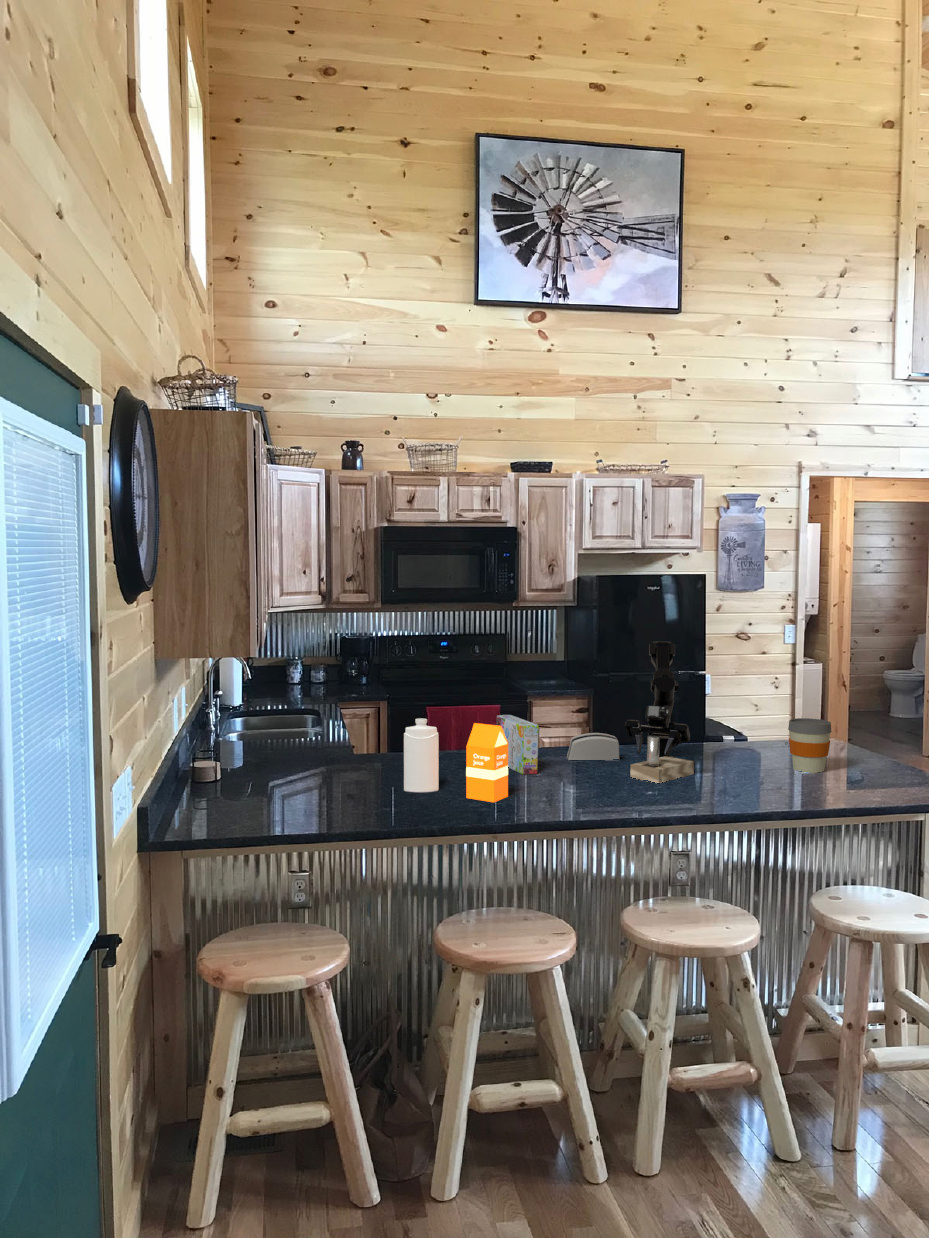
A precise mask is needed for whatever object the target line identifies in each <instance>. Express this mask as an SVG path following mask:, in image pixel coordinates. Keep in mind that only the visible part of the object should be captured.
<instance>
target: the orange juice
mask: <svg viewBox="0 0 929 1238" xmlns="http://www.w3.org/2000/svg"><path fill="white" fill-rule="evenodd" d="M465 748H466V752H465V753H466V755H465V756H466V761H465V762H466V765H465V766H466V768H465V777H466V778H465V779H466V786H465V787H466V788H465V789H466V791H465V792H466V793H465V794H466V799H472V800H477V801H483V802H488V803H489V802H490V803H497V802H499V801H500V800H503V799H505V798H508V797H509V768H508V742H507V740H506V737H505V734H504V732H503V729H502V727H501V726H497V725H496V724H488V723H487V724H486V723H479V722H473V725H472V730H471V732H470V734H469V737H468V740H467V744H466V747H465Z"/></svg>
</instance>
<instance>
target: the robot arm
mask: <svg viewBox="0 0 929 1238" xmlns="http://www.w3.org/2000/svg"><path fill="white" fill-rule="evenodd" d="M648 644H649V645H648V646H649V647H648V656H650V662H651V664H652V665H653V667H654V668H655V671H654V672H653V678H652V679H651V680H650V691H651V692H652V694H653V695H654V701H653V705H647V706H646V710H645V718H646V723H647V724H648V725H646V724H645V725H643V724H641V722H640V720H639V719H638V720H636V719H627V720H626V721H625V723H624V729H625V732H626V735H627V737H629V738H632V739H633V740H635V743H636V751H637V754H639V755H640V753H641V751H642V746H643V742H644V737H643V733H647V734H648V735H647V736H659V758H660V757H664V756H668V757H674V758H676V757H675V756H673V755H672V754H671V753H672V751H673V749H674V748H676V747H677V746H678V745H682V744H683V743H689V742H690V741H691V732H690V728H689V725H688V724H686V723H676V722H675V721H674V716H673V707H674V704H675V699H674V698H675V697H674V696H675V693H676V692H678V690H679V687H680V686H679V683H678V682H677V680H675V675H674V674H675V673H673V672H672V670H671V667H670V666H671V665H672V664H673V659H674V656H676V643H672V641H659V640H658V641H652V642H651V643H648Z"/></svg>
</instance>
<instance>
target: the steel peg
mask: <svg viewBox="0 0 929 1238" xmlns="http://www.w3.org/2000/svg"><path fill="white" fill-rule="evenodd" d="M646 739H647V740H646V761H647V767H653V768H656V767H659V736H652V735H650V736H648V735H647V737H646Z"/></svg>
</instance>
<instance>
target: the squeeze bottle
mask: <svg viewBox="0 0 929 1238" xmlns="http://www.w3.org/2000/svg"><path fill="white" fill-rule="evenodd" d="M414 723H415V725H412V726H406V727H405V728H404V729H405V732H404V733H403V791H404V792H409V793H432V792H433V793H434V792H438V791H439V789H440V787H439V781H440V780H439V775H440V774H439V769H440V768H439V757H440V755H439V752H440V751H439V750H440V749H439V741H440V740H439V736H440V735H439V732H438V728H437V727H436V726H430V725H427V723H428V719H427V718H421V717H419V718H415V722H414Z"/></svg>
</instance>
